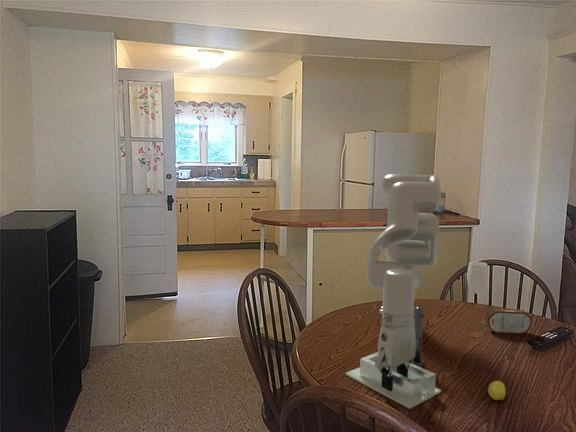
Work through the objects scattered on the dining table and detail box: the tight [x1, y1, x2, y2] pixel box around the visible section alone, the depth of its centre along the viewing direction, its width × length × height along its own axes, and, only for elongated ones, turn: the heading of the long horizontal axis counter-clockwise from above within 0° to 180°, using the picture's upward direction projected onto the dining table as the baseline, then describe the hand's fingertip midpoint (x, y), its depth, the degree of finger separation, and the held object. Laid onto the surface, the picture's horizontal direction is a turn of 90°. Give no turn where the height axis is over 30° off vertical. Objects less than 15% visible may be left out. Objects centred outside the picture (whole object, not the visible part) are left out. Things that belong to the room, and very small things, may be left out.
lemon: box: [487, 380, 507, 401], centre depth 120 cm, size 4×8×4 cm, turn 148°
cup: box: [466, 261, 489, 295], centre depth 178 cm, size 7×7×21 cm
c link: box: [359, 351, 437, 403], centre depth 125 cm, size 18×9×5 cm, turn 37°
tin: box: [484, 307, 533, 335], centre depth 163 cm, size 15×3×8 cm, turn 84°
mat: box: [345, 366, 442, 410], centre depth 127 cm, size 22×13×1 cm, turn 38°
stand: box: [410, 306, 426, 368], centre depth 137 cm, size 4×4×18 cm
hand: (394, 384), depth 121 cm, fingers open, 5 cm apart
